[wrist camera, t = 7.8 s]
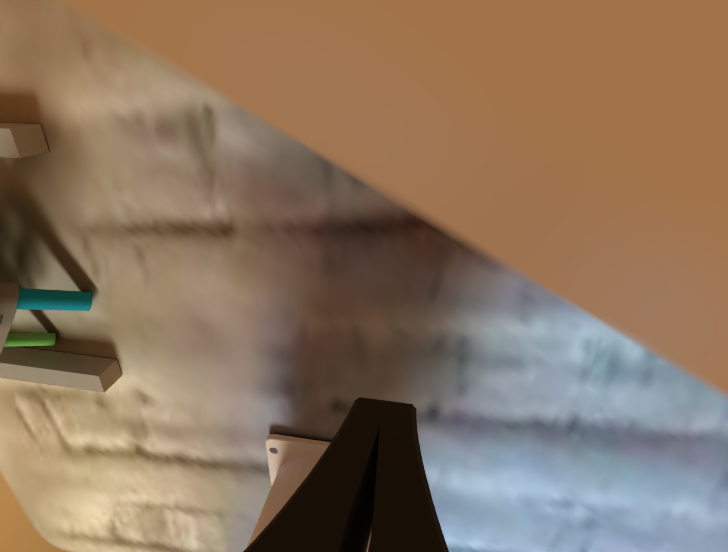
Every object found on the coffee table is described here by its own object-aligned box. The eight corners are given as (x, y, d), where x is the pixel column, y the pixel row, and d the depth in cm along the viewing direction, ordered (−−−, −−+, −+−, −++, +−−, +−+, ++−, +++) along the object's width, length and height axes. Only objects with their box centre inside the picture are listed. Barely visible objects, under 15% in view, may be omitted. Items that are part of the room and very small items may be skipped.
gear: (-45, 135, 18) (-74, 348, 14) (111, 172, 22) (126, 344, 18) (-64, 274, 24) (-88, 452, 20) (61, 282, 28) (64, 430, 24)
